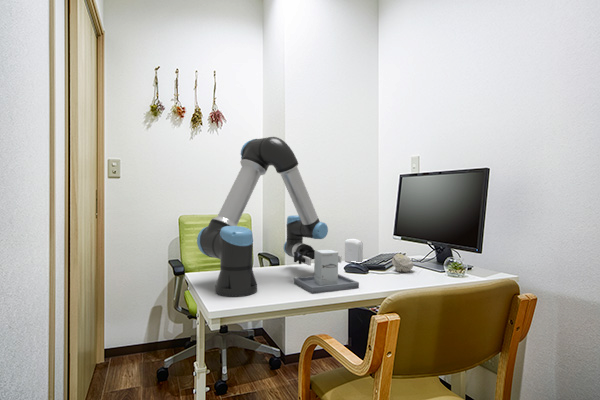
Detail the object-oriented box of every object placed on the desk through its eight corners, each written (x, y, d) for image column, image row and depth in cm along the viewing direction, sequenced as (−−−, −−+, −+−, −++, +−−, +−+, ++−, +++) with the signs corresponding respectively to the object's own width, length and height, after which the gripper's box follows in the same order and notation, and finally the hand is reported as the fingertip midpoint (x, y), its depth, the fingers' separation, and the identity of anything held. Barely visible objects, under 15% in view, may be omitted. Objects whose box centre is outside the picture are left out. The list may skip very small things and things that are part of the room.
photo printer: (343, 261, 198) (343, 238, 197) (349, 260, 200) (349, 237, 200) (358, 264, 190) (358, 240, 189) (363, 263, 192) (364, 239, 192)
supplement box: (320, 286, 143) (320, 252, 142) (313, 281, 150) (314, 249, 149) (338, 284, 145) (338, 252, 145) (330, 280, 152) (331, 249, 152)
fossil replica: (409, 268, 182) (388, 270, 181) (407, 251, 182) (387, 253, 182) (418, 272, 170) (396, 274, 169) (416, 253, 170) (394, 255, 170)
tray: (312, 293, 136) (312, 287, 136) (294, 283, 150) (294, 278, 150) (358, 288, 144) (358, 282, 144) (337, 278, 159) (337, 273, 159)
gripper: (327, 258, 173) (352, 267, 153) (276, 262, 163) (296, 272, 143) (328, 242, 173) (352, 249, 153) (276, 245, 162) (296, 253, 143)
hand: (325, 260), depth 148 cm, fingers open, 13 cm apart
